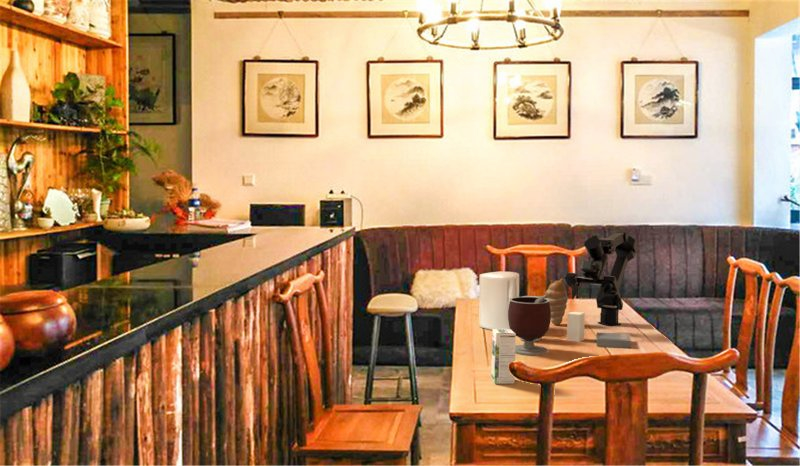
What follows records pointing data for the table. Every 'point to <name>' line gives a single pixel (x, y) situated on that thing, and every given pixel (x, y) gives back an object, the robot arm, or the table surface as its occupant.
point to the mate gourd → (529, 322)
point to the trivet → (613, 340)
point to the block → (575, 326)
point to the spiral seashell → (557, 300)
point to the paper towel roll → (496, 298)
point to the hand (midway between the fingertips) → (584, 299)
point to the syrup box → (502, 355)
